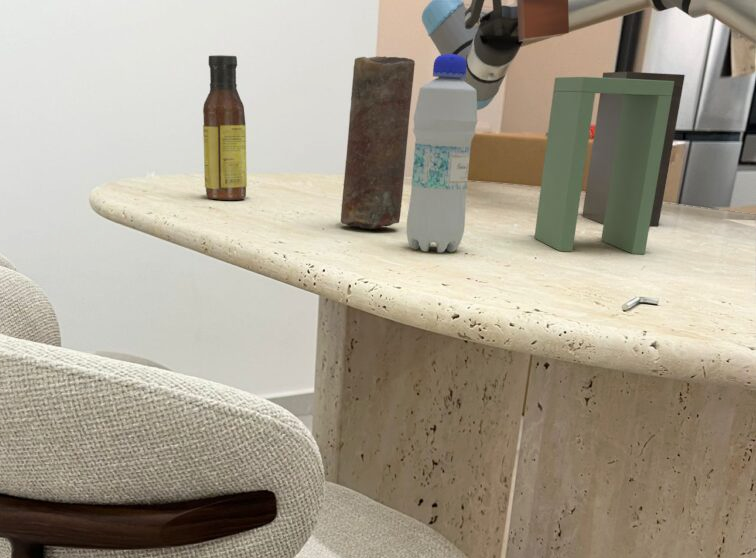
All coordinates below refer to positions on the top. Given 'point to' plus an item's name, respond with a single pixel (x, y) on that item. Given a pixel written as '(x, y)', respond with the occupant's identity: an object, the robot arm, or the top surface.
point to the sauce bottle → (224, 133)
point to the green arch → (630, 165)
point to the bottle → (441, 156)
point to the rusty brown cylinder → (377, 141)
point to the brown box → (542, 19)
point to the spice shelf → (607, 142)
